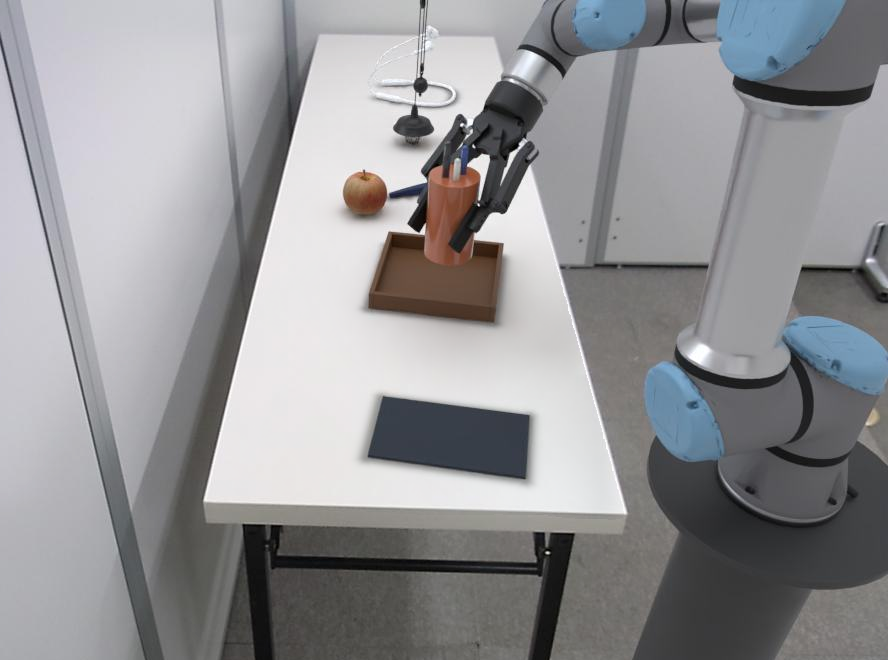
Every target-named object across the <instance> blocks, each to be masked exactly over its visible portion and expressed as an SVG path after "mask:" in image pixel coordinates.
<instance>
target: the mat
mask: <svg viewBox="0 0 888 660" xmlns="http://www.w3.org/2000/svg"><path fill="white" fill-rule="evenodd" d="M375 421H376V422H375V424H374V425H375V426H374V429H373V434H372V437H371V441H370V443H369V444H370V445H369V449H368V452H367V457H368V458H371V459H379V460H387V461H392V462H393V461H394V462H399V463H408V464H415V465H422V466H429V467H438V468H444V469H451V470H458V471H464V472H465V471H466V472H471V473H472V472H473V473H481V474H486V475H492V476H493V475H495V476H502V477H509V478H516V479H523V480H526V478H527V462H528V448H529V447H528V445H529V430H530V429H529V428H530V414H524V413H517V412H510V411H502V410H493V409H487V408H478V407H470V406H464V405H455V404H447V403H439V402H432V401H424V400H415V399H408V398H400V397H393V396H385V395H383V396H382V398H381V402H380V406H379V410H378V413H377V418H376V420H375Z"/></svg>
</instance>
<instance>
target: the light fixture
mask: <svg viewBox="0 0 888 660" xmlns="http://www.w3.org/2000/svg"><path fill="white" fill-rule="evenodd" d="M428 9H429V0H419V22H418V36H419V38H417V41H418V42H417V50H418V54H417V57H416V58H417V60H416V76H415V80H413V81H414V84H412V87H413V90H414V101H415V104H412V106H411V110H410V114H406V115H402V116H400V117H399V118H398V119H397V121H396V122H395V124H394V125H393V127H392V130H393V132H394V133H396V134H397V135H400V136H402V137H405V138H404V139H405V141H406V142H407V143H408V144H410V145H412V146H415V145H418V143H419V141H420V139H421V138H422V137H427V136H430V135H432V134H433V133H434V132H435V127H434V125H433V123H432V121H431V120H430V119H429V118H428V117H426V116H424V115H421V114H419V109H418V106H419V105H416V102H417V94H418V96H419V98H421V97H422V96H423V94H424V93H425V92H427V91H428V88H429V85H428V83H427V81H428V80H427V78H426V77H423V75H424V71H425V57H426V56H425V55H426V52H425V39H426V27H427V22H428V21H427V18H428ZM422 10H423V14H422ZM421 15H423V17H422V16H421ZM421 19H422V33H421ZM423 33H425V39H424V53H422V49H423V38H424V37H423ZM421 34H422V38H421V37H420V36H421ZM420 38H421V39H422V44H421V47H420ZM420 49H421V54H419V50H420ZM419 56H420V64H419ZM418 70H419V71H418ZM418 72H419V76H418ZM412 139H415V140H414V141H413V140H412Z"/></svg>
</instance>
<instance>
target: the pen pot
mask: <svg viewBox="0 0 888 660" xmlns="http://www.w3.org/2000/svg"><path fill="white" fill-rule="evenodd" d="M461 146H462V145H461ZM451 149H452V143H451V142H450V141H446V142H445V144H444V154H443V165H442V166H438V167H436V168H434V169H432V170H431V171H430V173H429V182H428V197H427V212H426V223H425V226H424V227H425V228H424V229H425V230H424V235H425V242H424V254H425V256H426V257H427V258H428V259H429V260H430V261H432V262H435V263H437V264H442V265H459V264H463V263H465V262H467V261H469V260H470V259H471V257H472V255H473V246H474V240H475V238H476V237H475V236H476V233H475V232H473V233H472V235H471V237H470V238H469V240H468V241H467V243H466V245H465V246H464V248H463V250H462V251H461V253H460V254H459V253H457V252H456V251H454V250H453V249H452V248H451V247H450V246H449V245H448V243H449V241H450V240H451V238H452V236H453V235H454V233H455V231H456V230H457V228H458V226H459V225H460V223H461V222H462V220H463V218H464V217H465V215H466V213H467V212H468V210H469V209H470V207H471V205H472V204H473V203H475V204H477V205H478V206H479V204H478V202H477V200H480V199H479V198H480V189H481V188H480V187H481V181H482V180H481V179H482V175H481V174H480V172H479V171H478V170H476V169H475V168H473V167H471V166H468V164H469V163H468V153H469V147H468V146H467V145H464V146H462V148H461V158H460V159H459V158H456V159H455V161H454V164H450V161H451ZM467 163H468V164H467Z"/></svg>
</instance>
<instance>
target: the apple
mask: <svg viewBox="0 0 888 660" xmlns="http://www.w3.org/2000/svg"><path fill="white" fill-rule="evenodd" d="M342 197H343V201H344V204H345V205H346V207H347V208H348V210H350V211H351V212H353V213H355V214H357V215H367V216H368V215H369V216H370V215H374V214H376V213H378V212H379V211H381V210H382V209H383V208H384V206H385V204H386V202H387V198H388V188H387V185H386V183H385V181H384V180H383V178H381V177H380V176H379V175H378V174H375V173H372V172H370V171H366V169H362V171H357V172H355V173H353V174H351V175H350V176H349V177H347V179H346V180H345V182H344V185H343V187H342Z"/></svg>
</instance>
